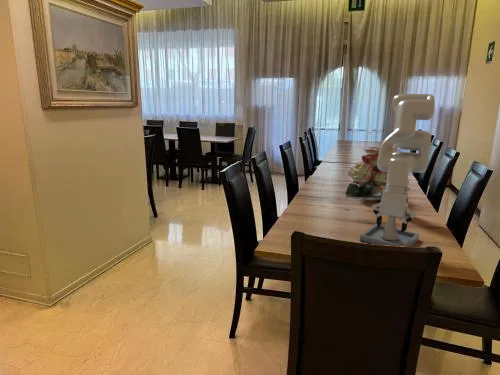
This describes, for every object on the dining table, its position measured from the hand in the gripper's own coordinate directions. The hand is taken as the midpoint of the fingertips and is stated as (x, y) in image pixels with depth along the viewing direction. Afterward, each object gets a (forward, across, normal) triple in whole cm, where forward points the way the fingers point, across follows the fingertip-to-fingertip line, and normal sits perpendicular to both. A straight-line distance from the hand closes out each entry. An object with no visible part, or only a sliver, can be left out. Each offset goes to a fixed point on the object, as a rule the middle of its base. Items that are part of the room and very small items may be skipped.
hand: (390, 228), depth 139 cm
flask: (+4, 0, 0) cm, 4 cm away
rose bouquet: (+6, +32, -60) cm, 68 cm away
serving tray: (+5, 0, 0) cm, 5 cm away
